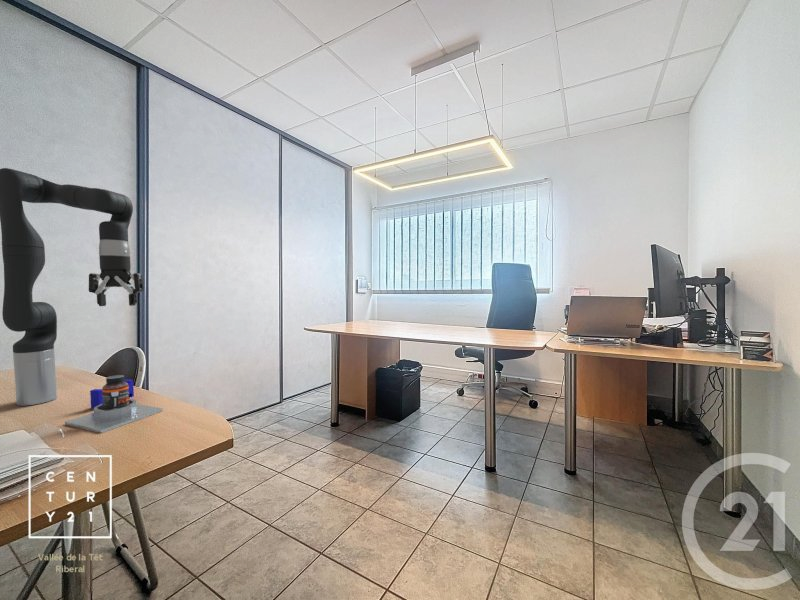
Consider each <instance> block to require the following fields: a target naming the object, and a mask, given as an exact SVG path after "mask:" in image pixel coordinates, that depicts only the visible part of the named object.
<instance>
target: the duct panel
mask: <svg viewBox="0 0 800 600" xmlns="http://www.w3.org/2000/svg"><path fill="white" fill-rule="evenodd" d="M163 409H164V408H162V407H158V406H151V405H146V404H140V403H137V399H132V398H129V405H127V406H124V407H121V408H116V409H109V410H103V404H100V405H98V406H96V407H94V409H93V413H90V414H85V415H83V416H79V417H76V418H73V419H70V420H67V421H64V425H66V426H71V427H74V428H77V429H78V428H79V429H82V430H87V431H91V432H96V433H100V434H103V433H105V432H108V431H111V430H114V429H116V428H119V427H122V426H125V425H128V424H131V423H133V422H136V421H139V420H142V419H145V418H148V417H150V416H152V415H153V416H154V415H155V413H156V414H159V413H161V412H163V411H164V410H163ZM158 412H159V413H158Z"/></svg>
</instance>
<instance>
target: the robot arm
mask: <svg viewBox="0 0 800 600" xmlns="http://www.w3.org/2000/svg"><path fill="white" fill-rule="evenodd" d="M23 202H25V203H31V204H60V205H64V206H67V207H71V208H77V209H81V210H87V211H95V212H98V213H99V212H100V213H105V214H109V215H111V216H110V220H105V221H101V222H100V223H99V225H98V233H99V236H98V237H99V244H98V255H99V256H98V257H99V258H98V259H99V269H100V273H95V272H94V273H93V272H91V273H89V274H88V292H89V293H92V294H95V295H96V303H97V305H98V306H99V307H106V305H107V297H106V294H105V293H106V292H107V291H108V290H109V289H110V288H113V287H114V288H116V287H117V288H123V289H124V290H126V292H128V293H129V294H128V305H129V306H130V307H131V306H132V307H133V306H136V305H137V303H138V293H143V292H144V290H145V289H144V280H143V274H142V273H136V272H135V273H131V266H132V265H131V250H130V244H129V227H130V223H131V220H132V216H133V212H134V205H133V202H132V200H131V199H130V197H128V196H127V195H125V194H122V193H118V192H115V191H111V190H108V189H103V188H97V187H87V186H82V185H77V184H60V183H56V182H52V181H49V180H47V179H44V178H42V177H41V176H40V177H39V176H37V175H35V174H32V173H27V172H23V171H21V170H16V169H12V168H10V167H9V168H7V167H4V168H2V167H1V168H0V229H1V230H0V231H1V251H2V252H1V253H2V262H3V282H4V283H3V302H2V320H3V323H4V325H5V326H6V327H7V329H9V330H10V331H12V332H18V333H20V332H21V333H22V332H24V336H23V337H21V339H19V340H18V341H16V342H14V343H13V345H12V352H13V353H12V354H13V355H12V356H13V357H12V358H13V372H14V385H15V401H16V406H21V407H23V406H24V407H25V406H33V405H40V404H44V403H47V402H51V401H54V400H56V399H57V398H58V394H57V391H58V390H57V378H56V377H57V375H56V373H57V372H56V359H55V358H56V357H55V343H56V341H57V336H58V335H57V334H58V333H57V332H58V331H57V330H58V329H57V328H58V318H57V317H58V316H57V312H56V310H55V308H54V307H53V305H51V304H50V303H48V302H44V301H33V288H34V285H35V282H36V281H37V279H38V277H39V276H40V274H41V273H42V271H43V269H44V266H45V264H46V252H45V251H46V250H45V242H44V240H43V238H42V237H41V235H40V234H39V233H38V232H37V230H36V229H35V228H34V227H33V225H32V224H31V222H30V220H29V219H28V218H27V216H26V214H25V210H24V206H23V205H24V204H23ZM131 279H132V280H133V283H132V282H131ZM100 280H101V283H99V281H100Z"/></svg>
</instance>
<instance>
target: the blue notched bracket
mask: <svg viewBox="0 0 800 600" xmlns="http://www.w3.org/2000/svg"><path fill="white" fill-rule="evenodd" d="M124 381H125V382H127V383H128V384H129V399H131V398H133V397H134V396H135V395H134V394H135V393H134V392H135V391H134V379H124ZM89 392H90V393H89V394H90V409H91V410H92V409H93V410H94V407H96V406H98V405H100V404H103V397H102V388H101V389H99V388H94V389H91V390H89ZM130 397H131V398H130Z"/></svg>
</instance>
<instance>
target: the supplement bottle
mask: <svg viewBox="0 0 800 600" xmlns="http://www.w3.org/2000/svg"><path fill="white" fill-rule="evenodd" d="M124 380H125V375H123V374H116V375H111V376H110V375H109V376H107V377H106V378H105V381H106V382H105V384H104V385H103V386H102V388H101V389H102V397H103V410H109V409H116V408H121V407H124V406H127V405H129V399H130V398H129V384H128V383H127V382H125V381H124Z"/></svg>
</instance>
